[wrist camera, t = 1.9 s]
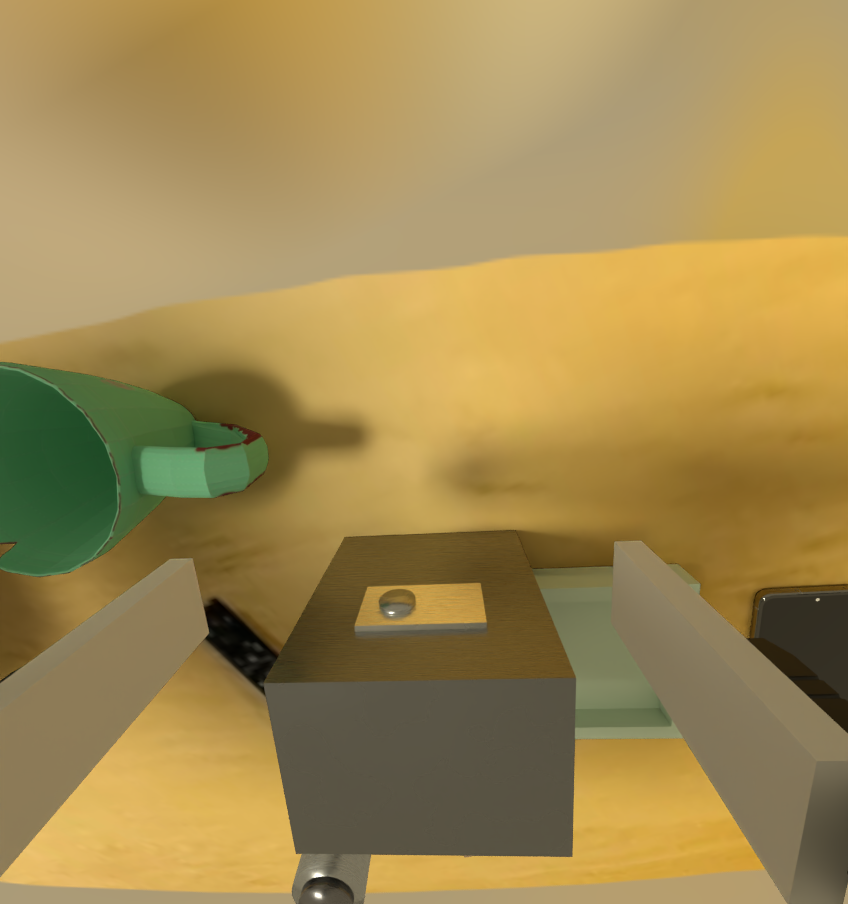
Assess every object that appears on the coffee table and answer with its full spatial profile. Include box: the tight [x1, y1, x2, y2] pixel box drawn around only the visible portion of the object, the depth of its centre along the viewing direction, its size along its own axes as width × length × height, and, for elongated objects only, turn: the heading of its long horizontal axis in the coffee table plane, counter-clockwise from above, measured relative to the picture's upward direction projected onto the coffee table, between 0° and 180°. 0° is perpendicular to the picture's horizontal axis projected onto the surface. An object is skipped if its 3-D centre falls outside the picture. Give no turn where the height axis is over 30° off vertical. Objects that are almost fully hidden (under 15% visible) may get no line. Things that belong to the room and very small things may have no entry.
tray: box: [532, 564, 701, 739], centre depth 28 cm, size 12×12×2 cm
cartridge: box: [292, 854, 371, 904], centre depth 28 cm, size 4×4×10 cm
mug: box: [0, 362, 269, 577], centre depth 22 cm, size 15×10×10 cm
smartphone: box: [750, 585, 848, 701], centre depth 29 cm, size 7×1×16 cm
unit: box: [263, 530, 576, 857], centre depth 22 cm, size 12×10×13 cm
